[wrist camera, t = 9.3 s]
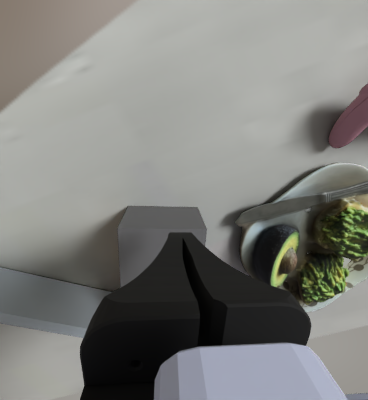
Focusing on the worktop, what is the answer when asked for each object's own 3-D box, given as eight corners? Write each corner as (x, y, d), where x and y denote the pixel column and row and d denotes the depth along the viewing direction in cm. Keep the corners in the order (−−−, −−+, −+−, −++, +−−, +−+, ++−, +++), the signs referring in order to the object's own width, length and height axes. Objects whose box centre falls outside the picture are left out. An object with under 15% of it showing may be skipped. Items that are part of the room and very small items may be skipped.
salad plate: (368, 106, 20) (425, 100, 15) (419, 231, 25) (473, 252, 21) (209, 226, 22) (220, 249, 18) (286, 316, 28) (309, 350, 23)
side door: (130, 296, 24) (121, 334, 19) (126, 306, 24) (117, 346, 20) (-39, 258, 21) (-96, 294, 16) (-40, 271, 21) (-96, 310, 16)
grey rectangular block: (189, 308, 25) (194, 349, 21) (131, 310, 25) (123, 352, 20) (197, 207, 21) (206, 229, 16) (128, 205, 21) (116, 228, 16)
